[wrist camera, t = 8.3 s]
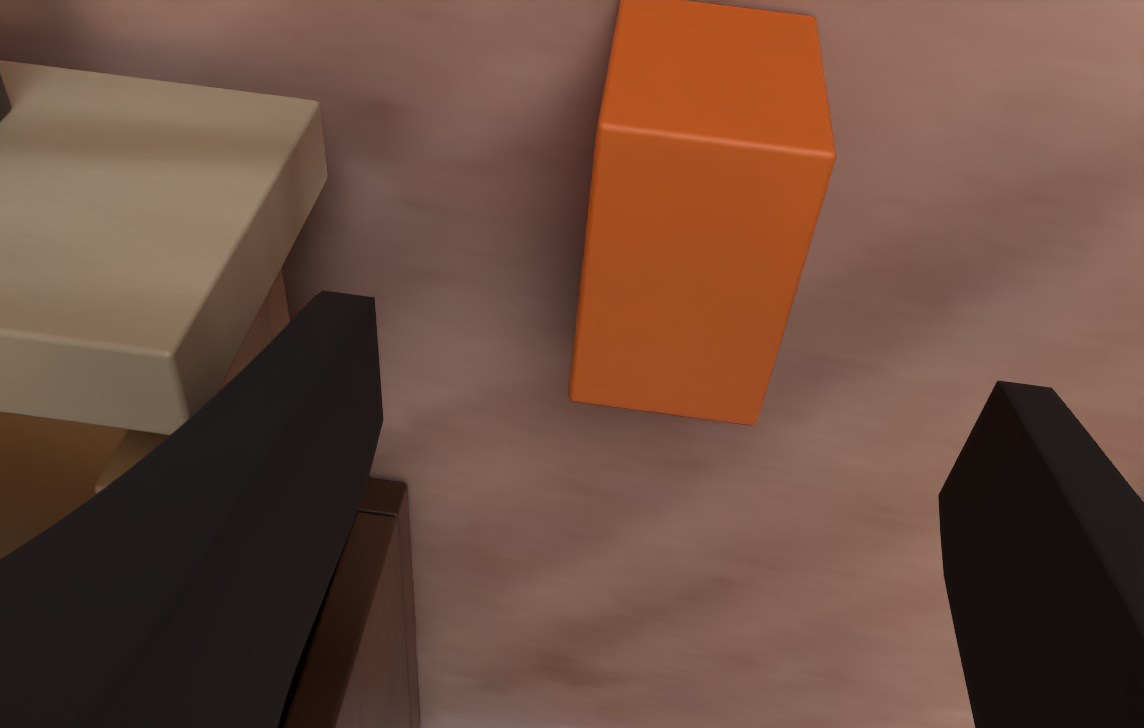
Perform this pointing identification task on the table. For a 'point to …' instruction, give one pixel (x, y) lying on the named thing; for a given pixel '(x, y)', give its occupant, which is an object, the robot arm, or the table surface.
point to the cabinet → (365, 627)
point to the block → (699, 207)
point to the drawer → (134, 269)
